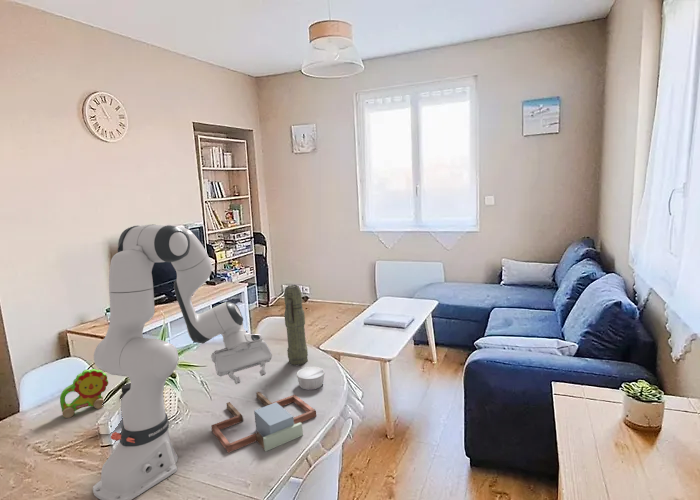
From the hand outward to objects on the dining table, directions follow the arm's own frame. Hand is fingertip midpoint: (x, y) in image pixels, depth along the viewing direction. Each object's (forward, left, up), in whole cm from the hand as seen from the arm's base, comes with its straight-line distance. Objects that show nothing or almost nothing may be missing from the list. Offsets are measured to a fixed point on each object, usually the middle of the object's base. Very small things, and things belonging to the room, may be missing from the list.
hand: (251, 378), depth 151 cm
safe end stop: (-11, -20, -13) cm, 26 cm away
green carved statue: (+44, +8, -13) cm, 46 cm away
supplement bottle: (-16, +41, -13) cm, 46 cm away
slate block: (-8, -14, -13) cm, 21 cm away
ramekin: (+26, -9, -13) cm, 30 cm away
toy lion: (-18, +63, -13) cm, 67 cm away
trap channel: (-3, -5, -13) cm, 14 cm away
